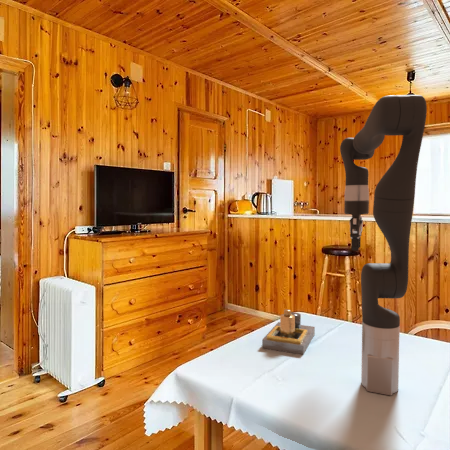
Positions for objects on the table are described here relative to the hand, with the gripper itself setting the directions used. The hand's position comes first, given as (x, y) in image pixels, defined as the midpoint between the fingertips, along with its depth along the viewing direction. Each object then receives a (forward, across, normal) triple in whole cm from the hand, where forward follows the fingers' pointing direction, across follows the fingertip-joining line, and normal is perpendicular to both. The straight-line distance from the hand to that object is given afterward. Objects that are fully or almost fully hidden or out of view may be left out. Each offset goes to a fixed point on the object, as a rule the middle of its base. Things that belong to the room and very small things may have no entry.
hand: (355, 249), depth 120 cm
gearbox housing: (+34, 0, +22) cm, 40 cm away
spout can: (+34, -3, +22) cm, 41 cm away
